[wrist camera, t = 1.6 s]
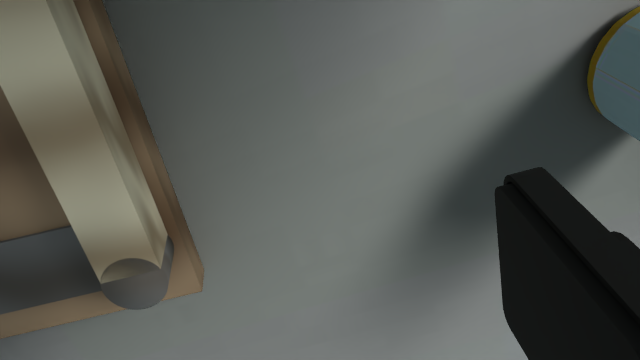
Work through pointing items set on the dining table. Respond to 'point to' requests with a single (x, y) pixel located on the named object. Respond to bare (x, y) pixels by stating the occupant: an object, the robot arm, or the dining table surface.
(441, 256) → the dining table surface
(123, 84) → the stool seat
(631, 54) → the bottle
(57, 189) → the folding leg
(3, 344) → the dining table surface
